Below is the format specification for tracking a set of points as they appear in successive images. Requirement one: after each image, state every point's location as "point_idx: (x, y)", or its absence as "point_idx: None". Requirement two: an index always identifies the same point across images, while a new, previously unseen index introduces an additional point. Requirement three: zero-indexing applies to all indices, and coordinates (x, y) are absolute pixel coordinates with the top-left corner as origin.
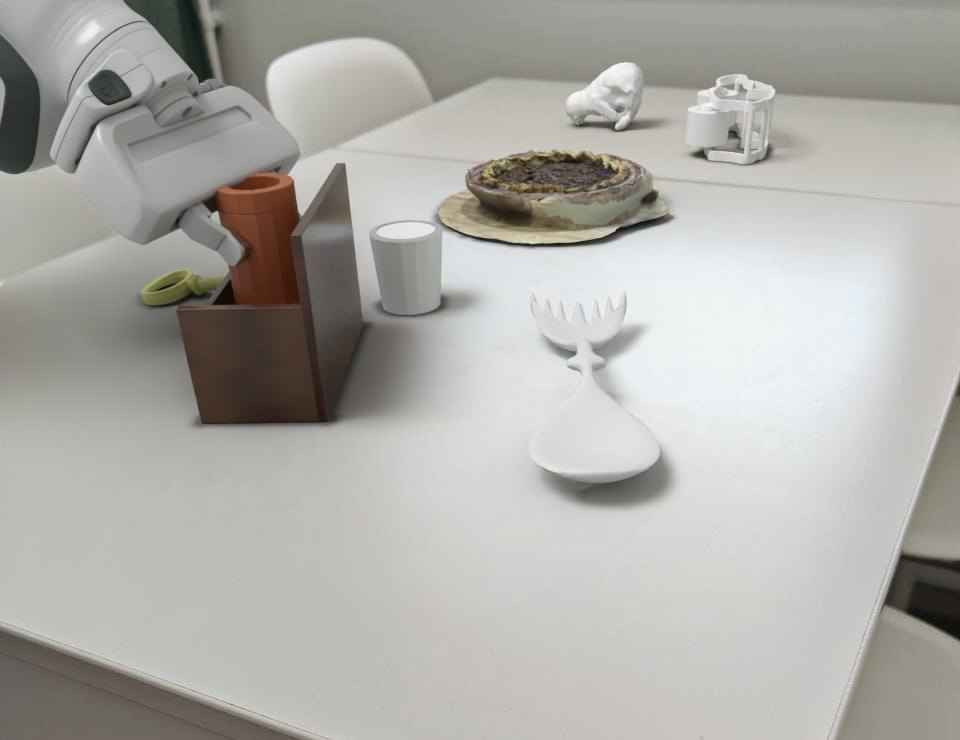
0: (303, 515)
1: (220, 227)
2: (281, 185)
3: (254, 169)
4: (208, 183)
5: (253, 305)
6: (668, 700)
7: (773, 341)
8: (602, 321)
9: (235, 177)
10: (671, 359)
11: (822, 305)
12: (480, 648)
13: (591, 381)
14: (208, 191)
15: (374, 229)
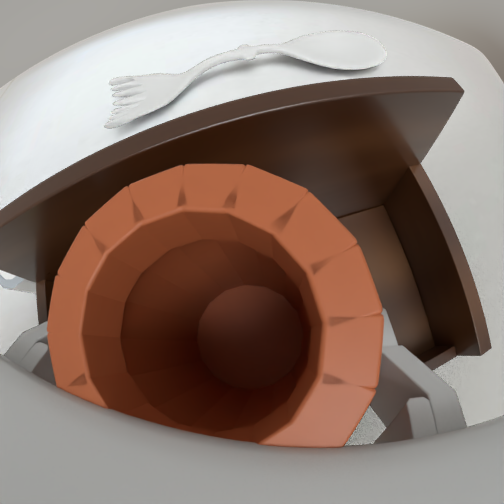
0: (475, 181)
1: (403, 364)
2: (215, 179)
3: (48, 390)
4: (376, 474)
5: (446, 234)
6: (455, 52)
7: (150, 43)
8: (143, 83)
9: (164, 439)
10: (177, 60)
11: (105, 49)
12: (479, 92)
13: (278, 44)
14: (402, 445)
15: (10, 282)
